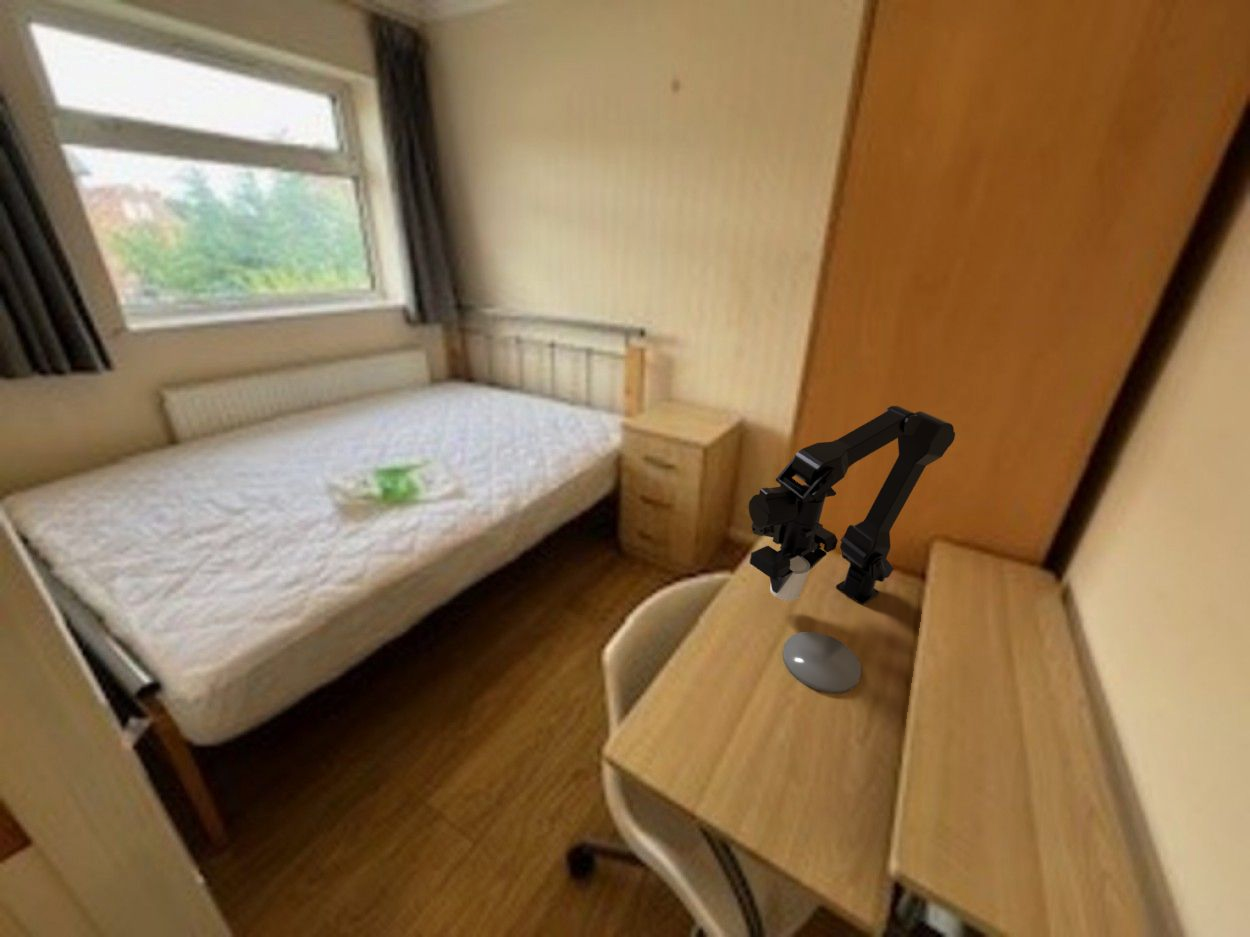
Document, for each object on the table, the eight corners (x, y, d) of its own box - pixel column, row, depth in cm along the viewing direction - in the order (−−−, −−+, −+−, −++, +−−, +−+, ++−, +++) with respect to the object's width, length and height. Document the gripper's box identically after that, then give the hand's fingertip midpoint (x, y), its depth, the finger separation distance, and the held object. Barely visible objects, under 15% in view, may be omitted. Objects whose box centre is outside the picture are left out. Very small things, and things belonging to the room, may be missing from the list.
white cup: (799, 582, 109) (806, 553, 106) (805, 605, 103) (814, 575, 100) (764, 578, 109) (770, 549, 106) (768, 601, 103) (775, 571, 100)
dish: (812, 627, 105) (813, 622, 104) (874, 671, 96) (876, 666, 95) (767, 655, 97) (768, 650, 97) (830, 706, 88) (832, 701, 88)
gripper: (798, 485, 109) (783, 550, 116) (734, 510, 99) (721, 579, 106) (847, 510, 102) (828, 578, 109) (783, 540, 91) (766, 613, 98)
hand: (785, 585), depth 106 cm, fingers closed on white cup, 6 cm apart
